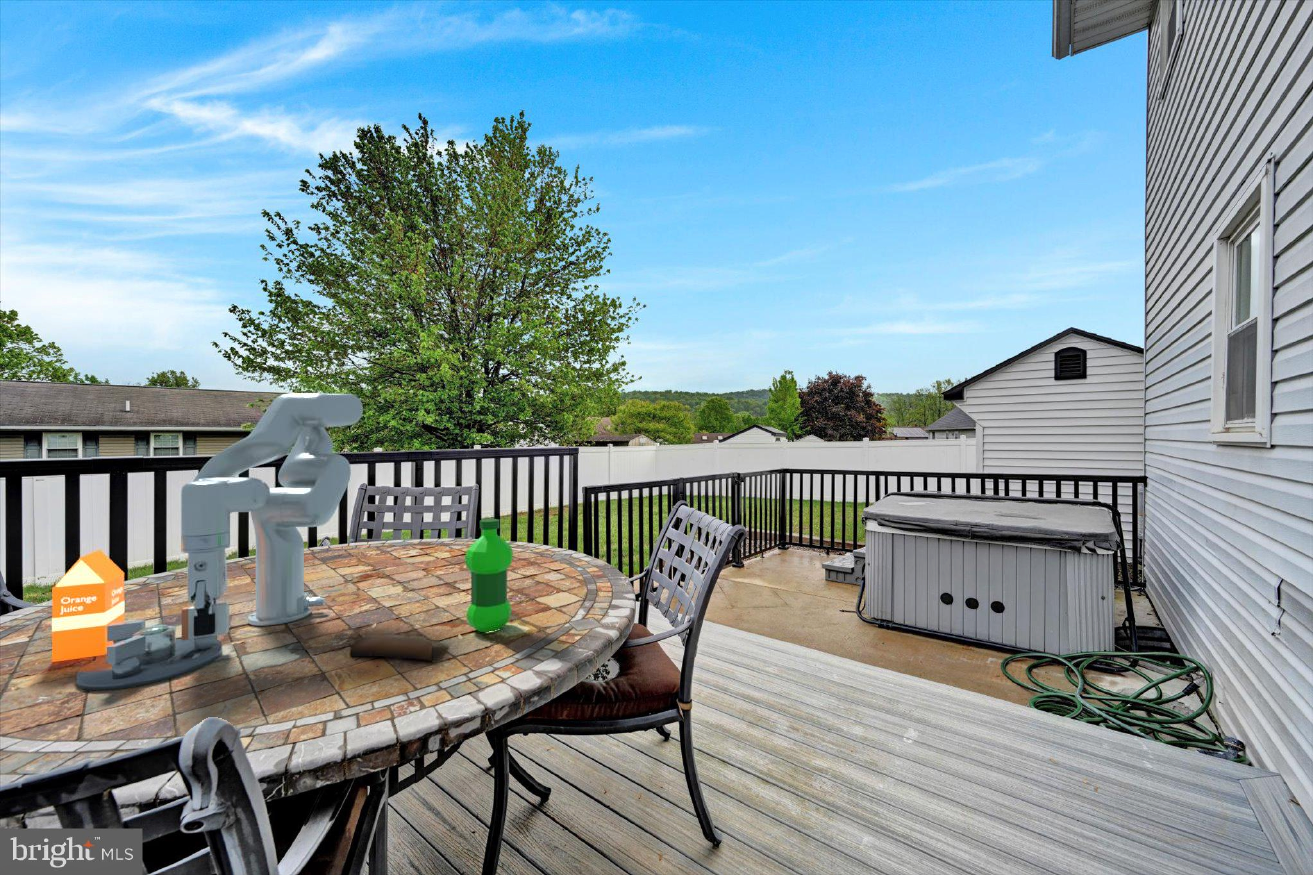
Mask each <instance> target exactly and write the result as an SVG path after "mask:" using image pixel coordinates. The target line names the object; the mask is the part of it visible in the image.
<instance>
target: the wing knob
mask: <svg viewBox="0 0 1313 875" xmlns="http://www.w3.org/2000/svg"><path fill="white" fill-rule="evenodd" d="M229 608H230V602H229V601H228V602H220V603H217V604H213V613H215V632H214V633H213V634H209V635H203V636H194V605H193V606H192V605H190V606H185V607H183V608H182V609H181V639H182V640H188V639H193V638H194V648H195V649H204V648H208V647H212V646H214V645H216V644H217V640H218V636H223V635H227V634H228V632H230V631H229V630H230V624H229V623H230V622H229V621H230V619H229V617H230V616H229V615H230V613H229V612H230V609H229Z"/></svg>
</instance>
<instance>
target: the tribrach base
mask: <svg viewBox="0 0 1313 875" xmlns="http://www.w3.org/2000/svg"><path fill="white" fill-rule="evenodd" d="M176 632H177V631H176V626H172V625H168V624H157V625H153V626H147V627H146V619H141V620H131V621H124V622H121V623H112V624H110V625H108V626H107V642H109V641H113V645H110V646H107V654H106V655H104V656H103V657H100V658H98V659H95V660H93V661H91V662H89V663H87V664H86V665H85V666H82V667H81V668H80V669H79V670H78V671H77V674H76V685H77V687H79V688H80V689H82V690H87V691H97V692H98V691H116V690H122V689H123V690H124V689H131V688H137V687H143V686H146V685H152V684H156V683H160V682H163V681H166V680H167V681H168V680H171V679H174V678H177V677H180V676H181V677H182V676H184V675H187V674H189V673H190V674H191V673H192V672H194V671H197V670H199V669H202V668H204V667H206V666H208V665H210V664H211V663H213V662H215V661H217V659H218V658H220V657H221V655H222V653H223V643H222V642H221V641H220V640H219V639H217V644H216V645H214V646H212V647H208V648H204V649H195V648H194V638H193V639H188V640H182V638H177V639H176V637H177V636H176ZM214 660H215V661H214ZM209 663H210V664H209Z"/></svg>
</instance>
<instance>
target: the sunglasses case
mask: <svg viewBox="0 0 1313 875" xmlns="http://www.w3.org/2000/svg"><path fill="white" fill-rule="evenodd" d="M449 647H450V646H449V645H447V644H445V643H443V642H438V641H433V640H428V639H426V638H424V637H423V636H420V635H413V636H411V634H405V635H402V634H391V633H389V634H387V633H384V634H372V635H366V636H362V637H359V638H357V639H356V640H354V641H353V643H352V644H351V646H350V650H349V656H350V657H387V658H401V659H411V660H412V659H414V660H422V661H423V660H425V661H431V662H432V663H434V662H436V661H437V660H438V659H439V658H441V657H442V656H443V655H444V654H445V652H446V651H447V650H448V649H449ZM449 650H450V649H449ZM449 650H448V651H449ZM448 651H447V652H448ZM447 652H446V653H447ZM443 653H444V654H443ZM442 654H443V655H442ZM441 655H442V656H441ZM440 656H441V657H440ZM435 660H436V661H435ZM433 661H434V662H433Z"/></svg>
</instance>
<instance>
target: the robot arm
mask: <svg viewBox="0 0 1313 875" xmlns="http://www.w3.org/2000/svg"><path fill="white" fill-rule="evenodd" d="M363 410H364V409H363V404H362V401H361V400H360V398H359V397H358V396H356V395H354V394H351V393H285V394H282V395H281V394H280V395H279V396H277V397H275V399H274V400H273V401H272V402H271V404H270V405H269V406H268V408H267V409H266V411H264V414H263V415H262V417H260V419H259V421H258V422H257V424H256V425H255V426H254V428H253V429H252V431H251V433H249V435H248V436H246V437H245V438H243V439H240V440H239V441H237V442H235V443H233V444H231V445H230V446H228V447H227V448H225V449H223V450H222V451H220V452H219V453H217V454H216V455H214V456H213V457H211V458H210V459H209V460H208V461H207V462H206V463H205V464H203V467H202V468H200V470H199V472H198V473H197V475H196V476H195V477H194V479H193V481H190V482H186V483H185V484H184V485H183V486H182V487H181V493H180V495H181V498H180V499H181V503H180V506H181V507H180V510H181V511H180V513H181V514H180V515H181V517H180V519H181V521H180V526H181V531H180V541H181V542H180V552H181V553H185V554H187V571H186V572H187V573H186V574H187V575H186V589H187V590H186V594H187V596H186V598H187V602H189V603H191V604H193V603H194V604H193V606H194V636H203V635H209V634H213V633H214V632H215V613H213V604H218V600H219V599H221V598H222V596H223V595H224V594H225V593H226V591H227V589H228V578H227V577H228V576H227V574H228V573H227V555H226V549H229V548H230V547H231V514H232V513H249V512H250V516H251V520H252V524H253V528H254V535H255V537H254V538H255V611H254V612H253V613H251V614H249V615H248V617H247V624H249V625H251V626H258V627H259V626H261V627H262V626H265V627H266V626H273V625H281V624H287V623H291V622H294V621H298V620H301V619H303V618H306V617H308V616H309V615H310V614H311V613H312V607H317V608H318V607H324V606H325V602H326V601H325V597H321V596H316V597H310V596H309V597H308V594H307V592H304V591H305V590H304V589H305V586H304V585H305V582H304V581H305V579H304V578H305V575H304V574H305V570H304V569H305V562H304V560H305V555H304V554H305V544H304V539H303V537H302V535H301V533H300V531H299V530H298V528H302V527H303V528H306V527H307V528H314V527H315V528H316V527H322V526H324V525H326V524H327V523H328V522H330V521H331V519H332V518H333V517H334V514H335V513H336V510H337V508H338V506H339V504H340V502H341V500H342V498H343V496H344V493H345V492H346V490H347V487H348V485H349V483H350V480H351V473H352V472H351V471H352V470H351V464H350V462H349V461H348V459H347V458H346V457H345V456H343V455H341V454H338V453H337V454H336V453H332V452H333V450H334V442H333V440H332V438H331V436H330V435H329V433H328V432H327V431H326V428H335V427H336V428H337V427H344V426H351V425H355V424H356V423H358V422H359V421H360V420H361V419H362V416H363V412H364V411H363ZM288 453H289V454H288ZM287 454H288V455H287ZM286 455H287V457H286V458H285V460H284V462H283V464H282V466H281V467H280V469H279V472H278V474H277V475H278V477H277V478H278V483H279V484H280V485H281V486H282V487H271V488H270V487H269V485H268V484H267V483H266V482H265V481H264V480H262V479H260V478H257V477H250V476H249V477H248V476H247V477H246V476H243V477H239V476H238V475H240V474H242V473H244V472H245V471H247V470H249V469H252V468H254V467H258V466H260V465H264V464H267V463H270V462H273V461H276V460H278V459H281V458H283V457H284V456H286ZM237 476H238V477H237Z"/></svg>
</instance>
